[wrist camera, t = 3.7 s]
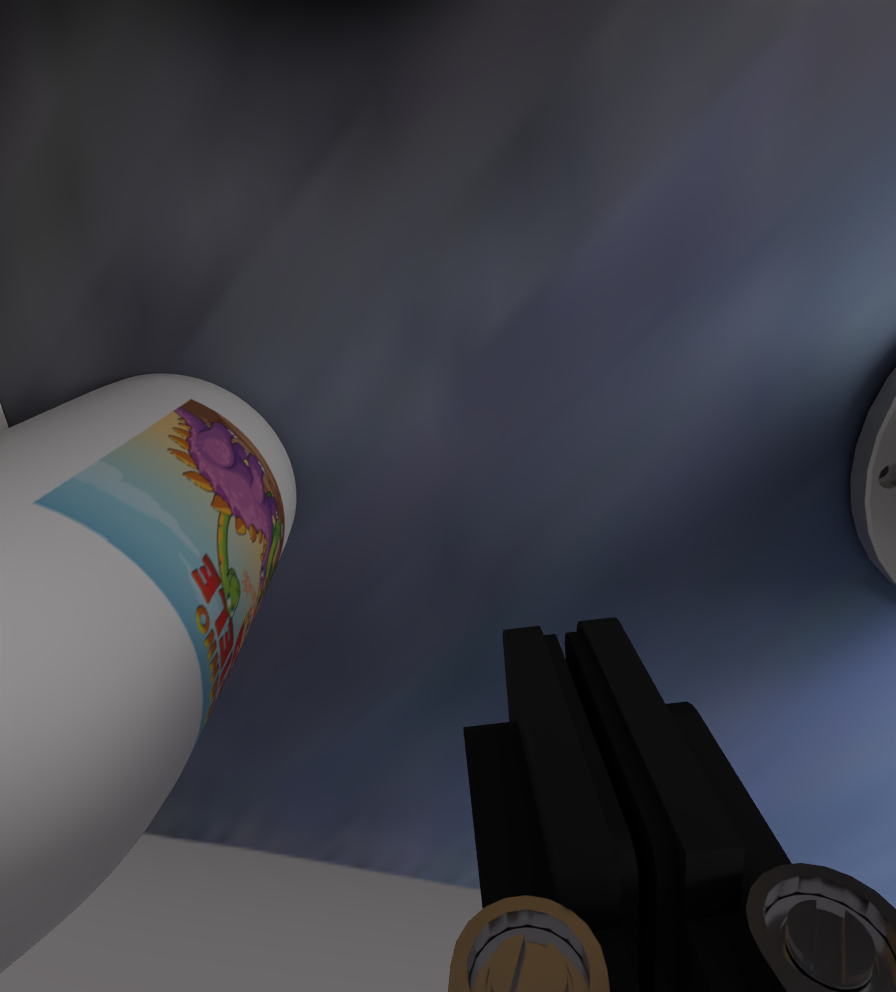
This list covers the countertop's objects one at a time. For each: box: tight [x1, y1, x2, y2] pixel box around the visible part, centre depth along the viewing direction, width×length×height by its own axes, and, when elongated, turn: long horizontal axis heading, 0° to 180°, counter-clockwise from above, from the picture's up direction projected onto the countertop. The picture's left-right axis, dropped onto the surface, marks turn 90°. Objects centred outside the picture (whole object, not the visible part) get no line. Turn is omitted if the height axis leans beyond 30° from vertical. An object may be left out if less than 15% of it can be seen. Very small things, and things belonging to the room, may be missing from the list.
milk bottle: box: [0, 373, 296, 973], centre depth 13 cm, size 8×8×20 cm
